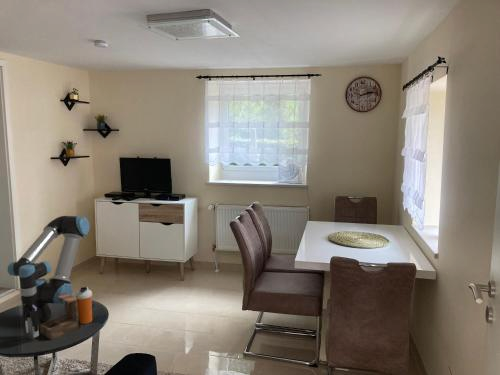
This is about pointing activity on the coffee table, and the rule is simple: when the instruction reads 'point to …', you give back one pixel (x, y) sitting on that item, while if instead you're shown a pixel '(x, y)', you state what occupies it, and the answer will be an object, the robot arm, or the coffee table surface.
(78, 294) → the shaker bottle
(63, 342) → the coffee table surface
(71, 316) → the socket block
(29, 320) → the peg
